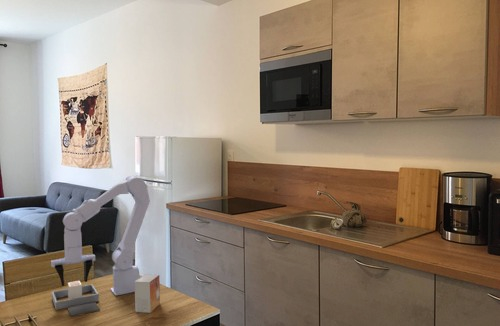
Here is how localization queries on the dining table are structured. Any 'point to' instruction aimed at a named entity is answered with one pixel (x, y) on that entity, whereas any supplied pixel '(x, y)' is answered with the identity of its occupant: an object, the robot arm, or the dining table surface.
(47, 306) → the dining table surface
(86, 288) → the grey rectangular frame
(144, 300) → the small box
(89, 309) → the mat
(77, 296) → the block
